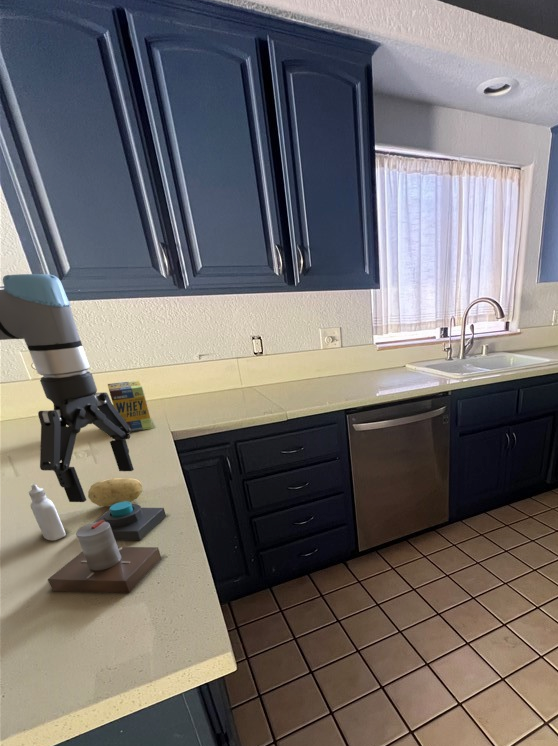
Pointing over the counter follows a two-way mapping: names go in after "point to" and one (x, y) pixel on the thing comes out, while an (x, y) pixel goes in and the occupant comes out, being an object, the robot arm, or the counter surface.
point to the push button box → (134, 522)
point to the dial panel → (106, 572)
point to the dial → (98, 545)
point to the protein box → (131, 404)
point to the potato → (114, 491)
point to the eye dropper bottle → (46, 514)
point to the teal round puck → (121, 509)
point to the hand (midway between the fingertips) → (104, 484)
